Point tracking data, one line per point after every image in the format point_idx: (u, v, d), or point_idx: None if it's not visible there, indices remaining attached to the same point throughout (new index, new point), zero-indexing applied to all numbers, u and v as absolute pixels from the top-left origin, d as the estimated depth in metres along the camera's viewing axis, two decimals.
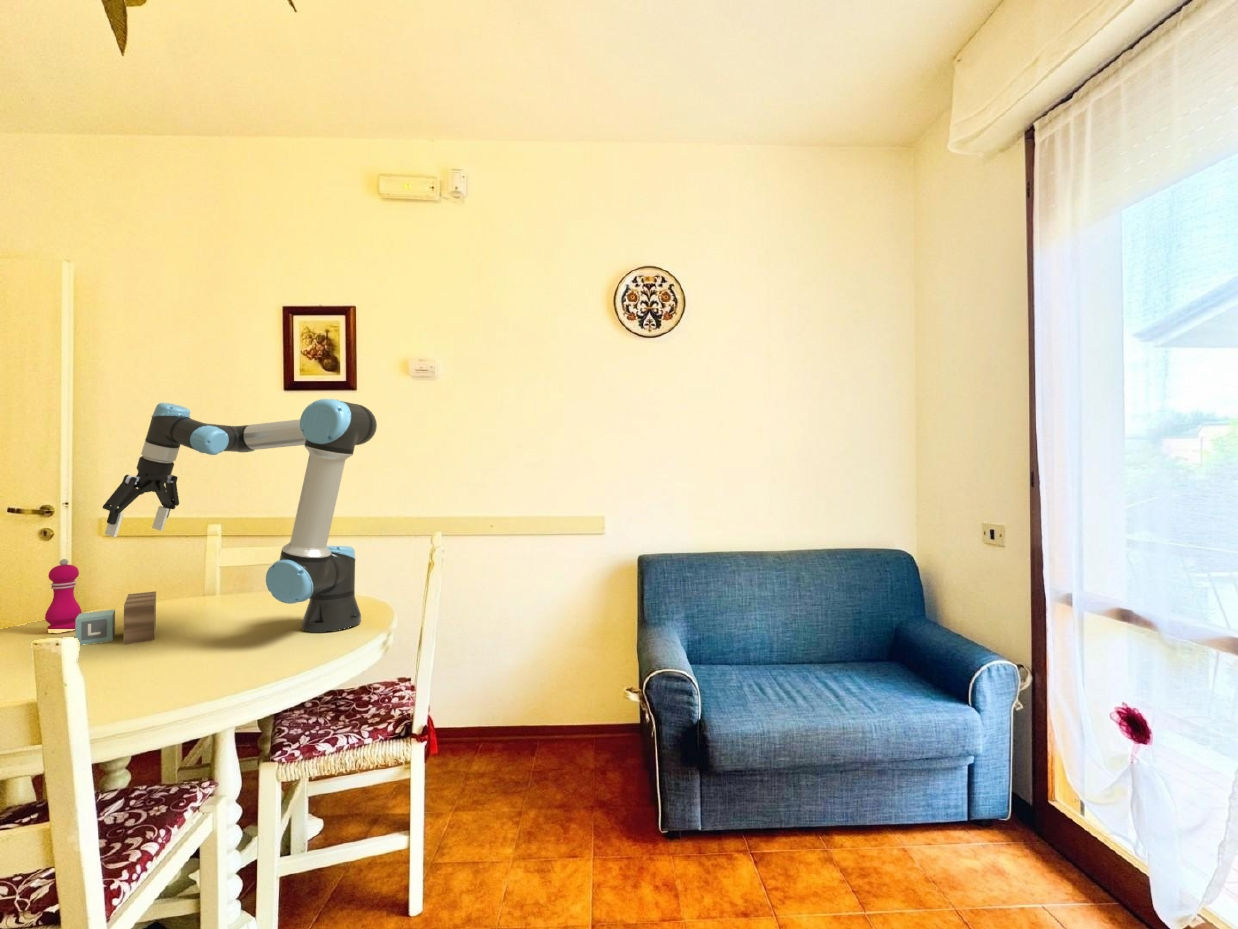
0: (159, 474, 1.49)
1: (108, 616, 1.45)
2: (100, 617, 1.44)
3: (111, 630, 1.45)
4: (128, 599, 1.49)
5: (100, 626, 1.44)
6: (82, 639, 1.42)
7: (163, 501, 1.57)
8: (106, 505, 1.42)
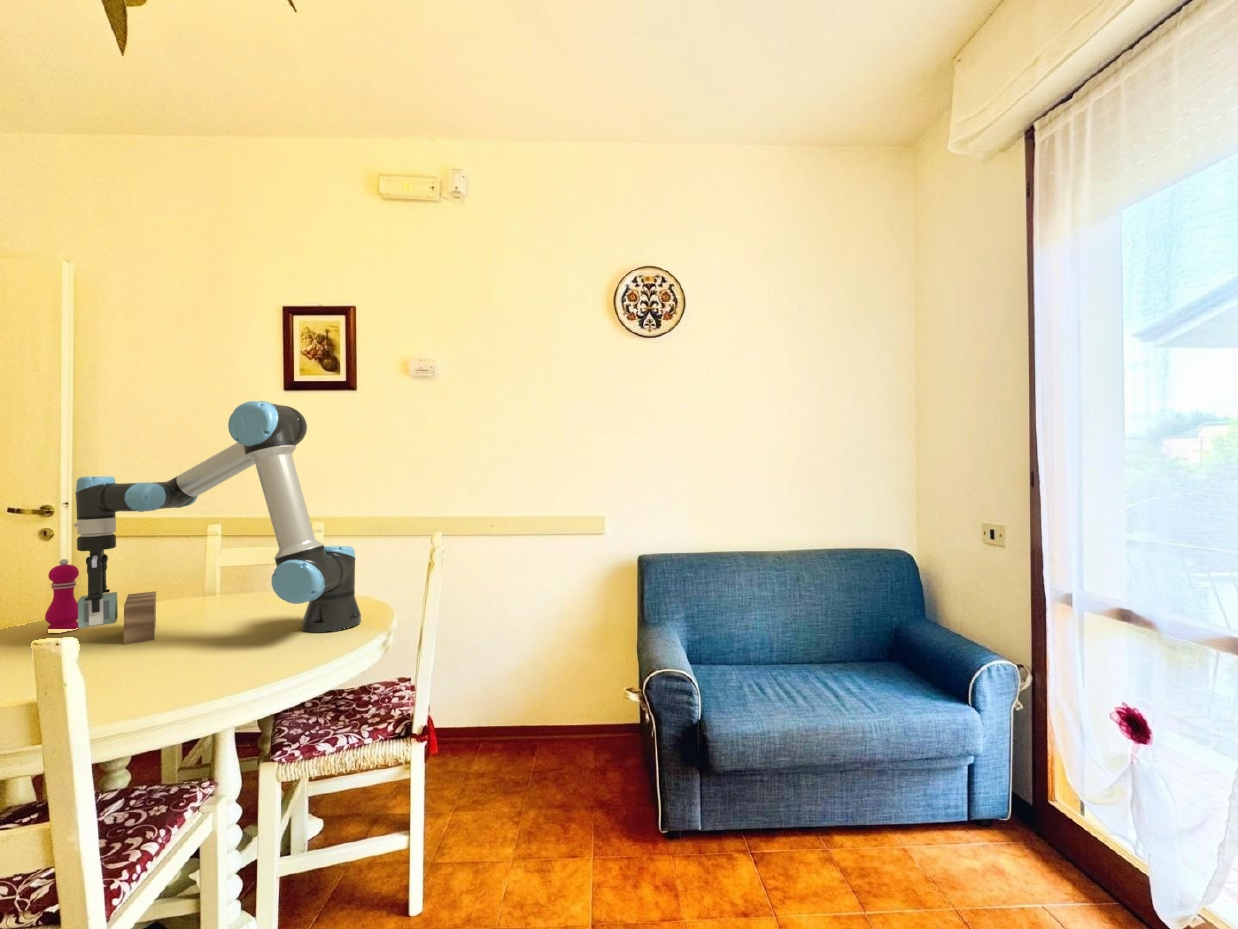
0: (113, 546, 1.47)
1: (110, 598, 1.45)
2: None
3: (114, 612, 1.45)
4: (128, 599, 1.49)
5: None
6: (85, 621, 1.42)
7: None
8: (91, 595, 1.40)
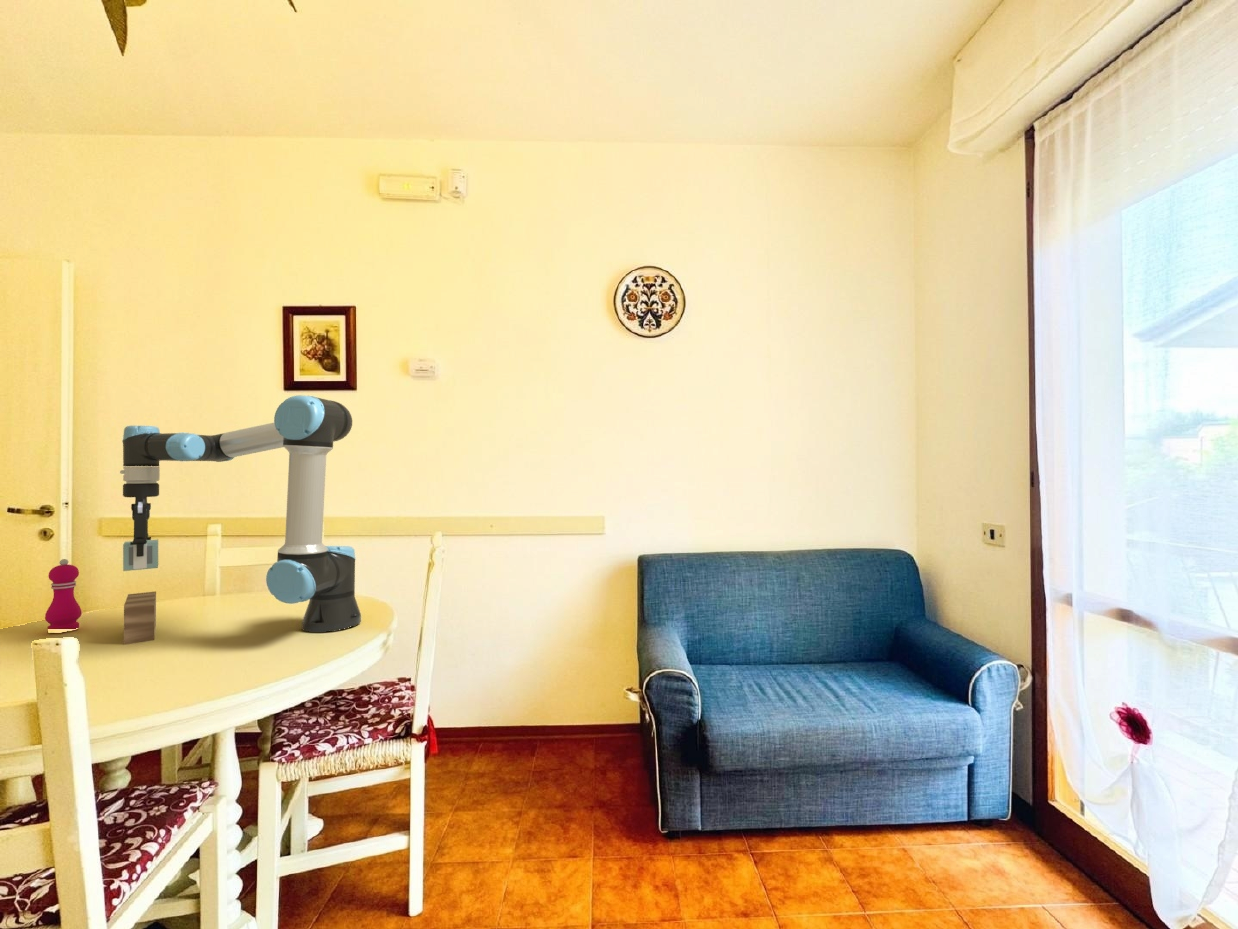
0: (156, 494, 1.52)
1: (153, 543, 1.50)
2: None
3: (156, 557, 1.50)
4: (128, 599, 1.49)
5: None
6: (129, 564, 1.47)
7: None
8: (136, 539, 1.45)
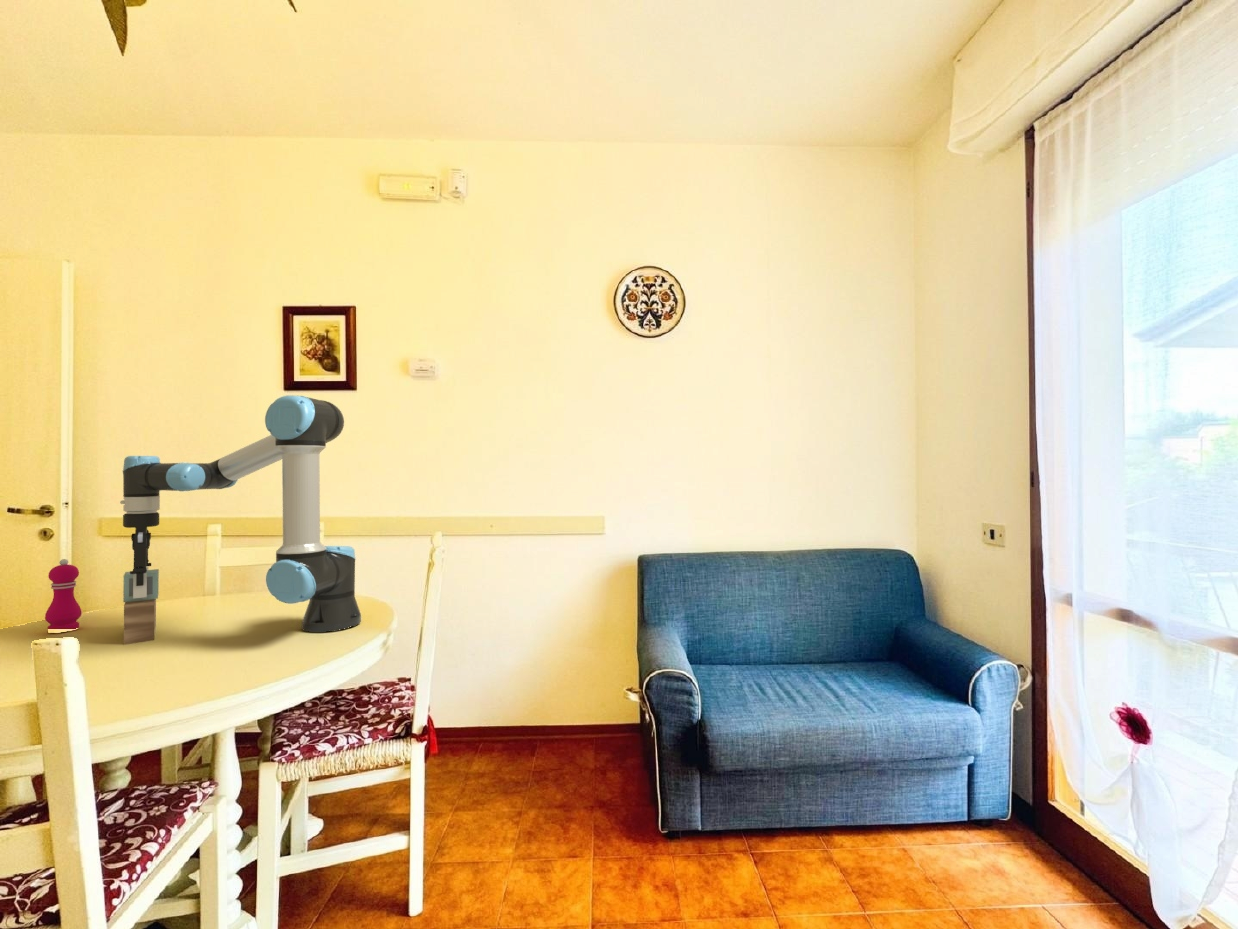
0: (157, 524, 1.52)
1: (154, 574, 1.50)
2: None
3: (156, 587, 1.50)
4: None
5: None
6: (129, 595, 1.47)
7: None
8: (136, 568, 1.44)
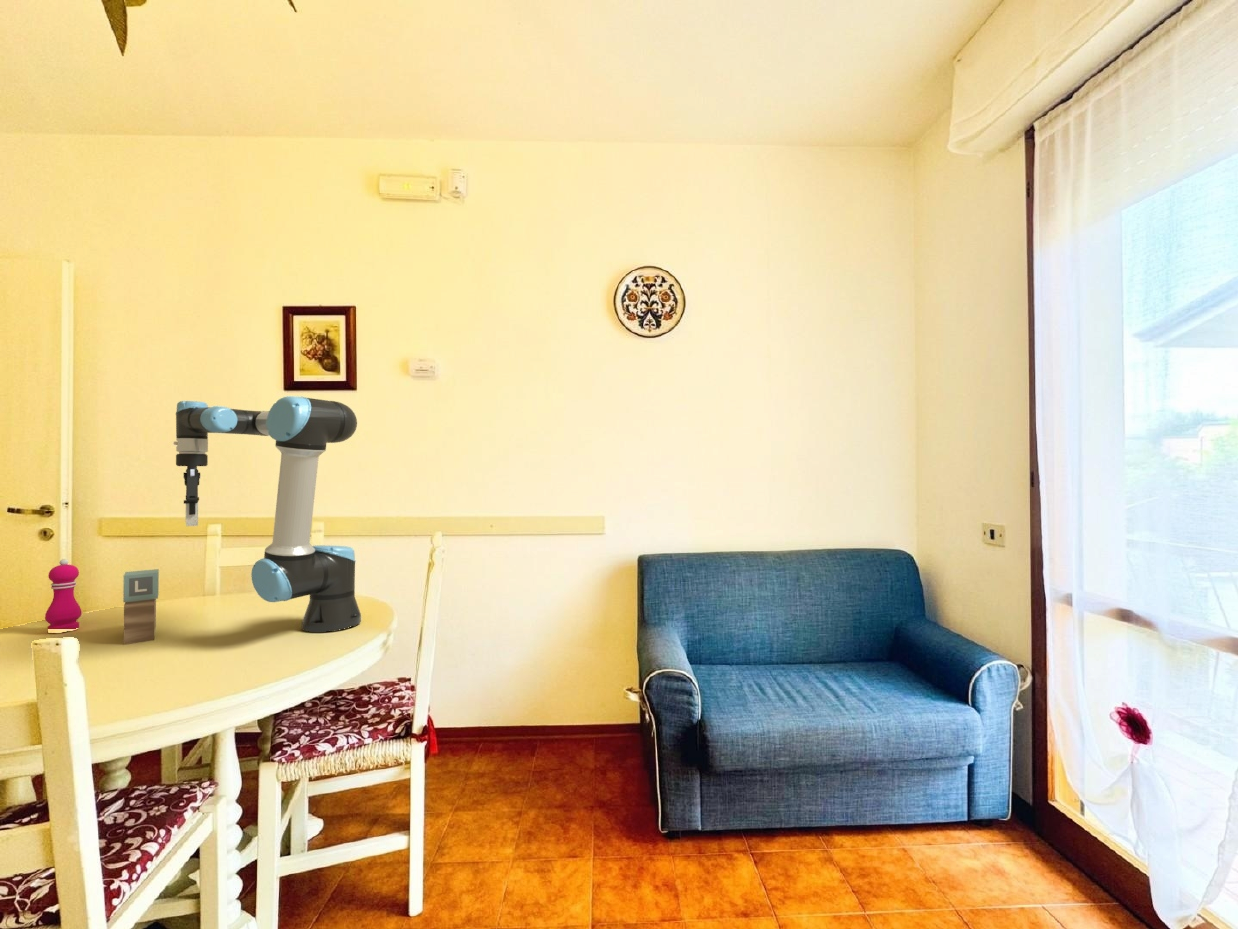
0: (205, 464, 1.66)
1: (154, 574, 1.50)
2: (146, 575, 1.49)
3: (156, 587, 1.50)
4: None
5: (146, 583, 1.49)
6: (129, 595, 1.47)
7: None
8: (189, 497, 1.57)
